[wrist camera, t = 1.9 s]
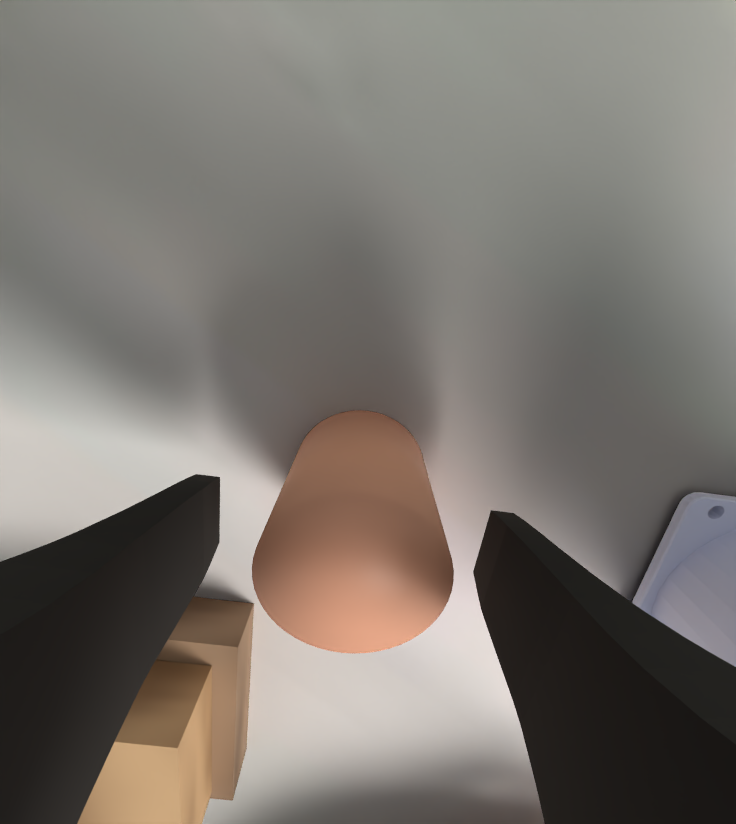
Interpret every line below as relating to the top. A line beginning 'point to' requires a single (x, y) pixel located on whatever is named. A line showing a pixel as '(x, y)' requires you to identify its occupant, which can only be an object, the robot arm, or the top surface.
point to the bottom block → (219, 677)
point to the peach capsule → (354, 540)
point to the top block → (160, 753)
